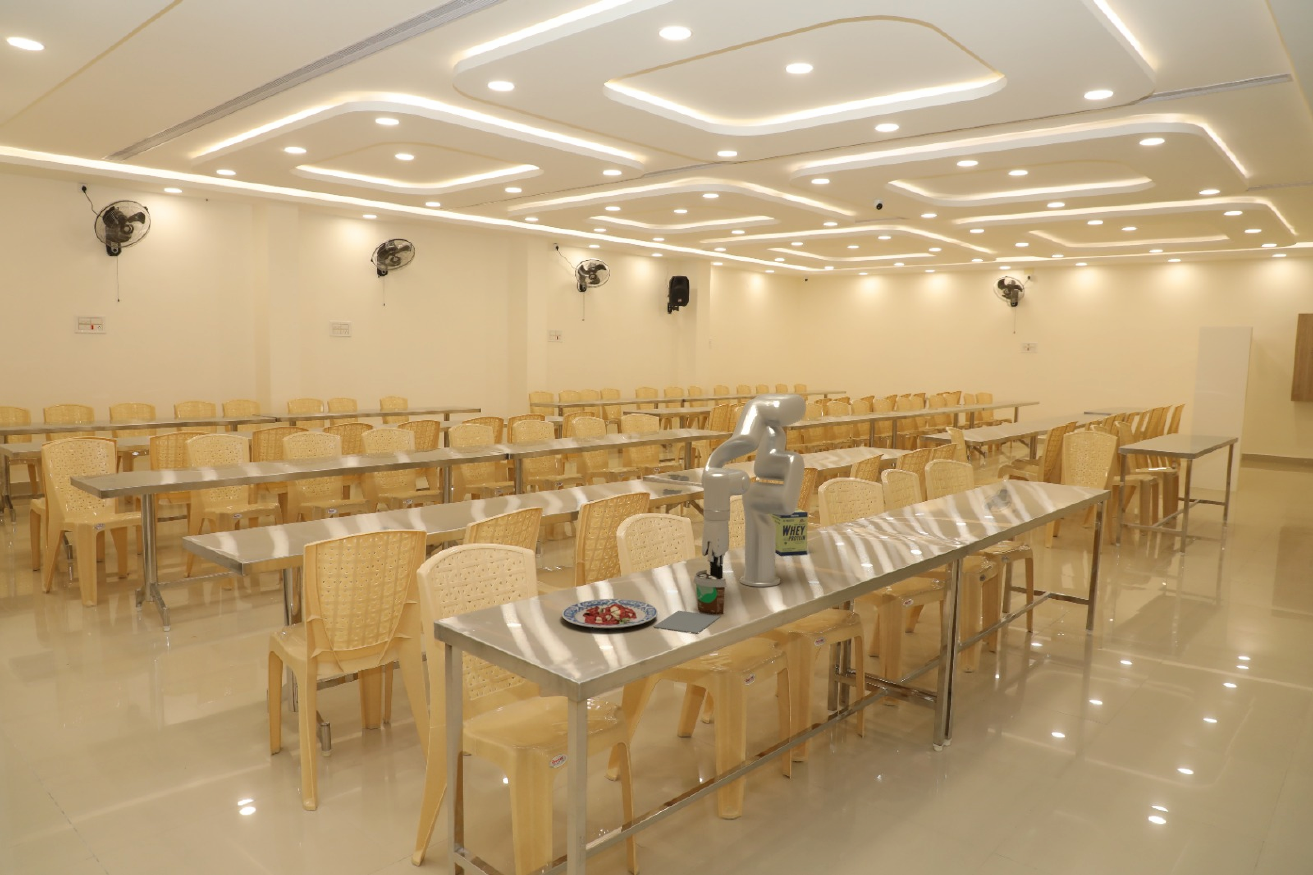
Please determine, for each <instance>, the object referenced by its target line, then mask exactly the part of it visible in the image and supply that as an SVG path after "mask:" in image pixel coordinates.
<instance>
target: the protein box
mask: <svg viewBox="0 0 1313 875" xmlns="http://www.w3.org/2000/svg"><path fill="white" fill-rule="evenodd" d="M770 516H771V517H772V519H773V521H774V524H775V528H776V538H775V555H778V556H780V557H784V556H785V557H788V556H806V555H808V512H807V511H805V510H803V509H799V507H797V508H796V510H795V512H794V513H793V514H791V515H777V514H770Z"/></svg>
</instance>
